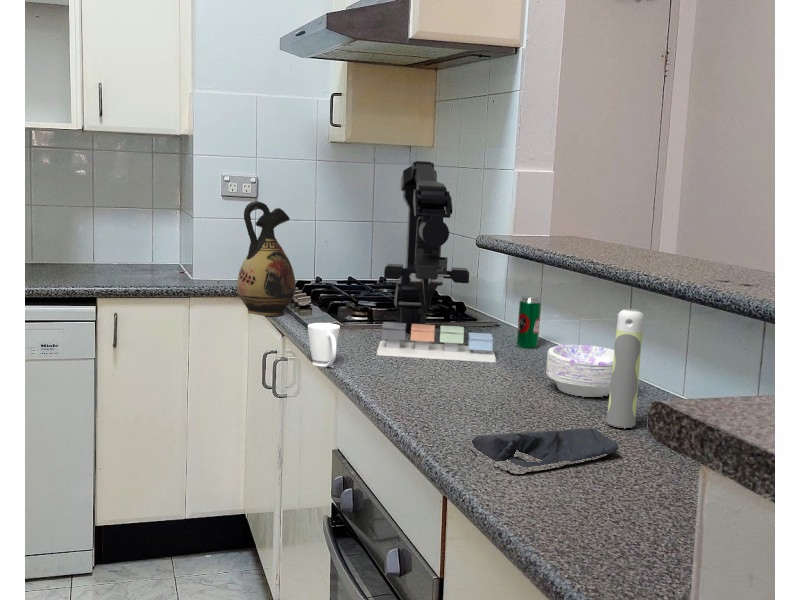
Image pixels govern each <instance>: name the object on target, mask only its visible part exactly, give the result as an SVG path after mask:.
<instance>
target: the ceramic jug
mask: <svg viewBox="0 0 800 600" xmlns="http://www.w3.org/2000/svg"><path fill="white" fill-rule="evenodd" d="M255 210H260V211H262V213H263V214H262V215H261V216H259V217H258V220H257V221H255V222H256V223H255V225H256V226H257V227H259V228H261V231H260V233H259V236H258V237H257V234H256V232H255V230H254V226H253V223H252V219H251V218H252V216H251V214H252V212H253V211H255ZM290 220H291V219H290V217H289V215H288V214H287V213H286V212H285V210H283V209H281V208H280V207H277V208H274V209H273V210H272V211H270V208H269V207H268V205H267V204H265V203H264V202H262V201H258V200H257V201H256V200H254V201H251V202H249V203H248V204H247V205H246V206H245V208H244V211H243V221H244V223H245V227H246V229H247V235H248V236H249V241H250V244H249V248H248V253H247V254H246V257H245V259H244V260H243V262H242V264H241V266H240V269H239V273H238V276H237V281H236V282H237V284H236V287H237V288H236V289H237V293H238V296H239V299H240V300H241V301H242V302H243V304H244V305H245V307H246V308H247V314H250V315H251V314H252V315H257V316H262V317H282V316H283V315H284V314H285V313H284V312H285V311H286V309H287V306H289V304H290V303H291V301H292V300H293V299H294V295H295V294H296V287H297V284H296V277H295V272H294V269H293V266H292V264H291V261H290V259H289V257H288V255H287V254H286V252H285V250H284V249H283V247H282V246H281V244H280V243H279V241H278V239H277V238H276V237H275V236H276V235H275V228H277V226H279V225H282V224H284V223H286V222H289V221H290Z"/></svg>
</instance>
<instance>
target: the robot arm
mask: <svg viewBox="0 0 800 600" xmlns="http://www.w3.org/2000/svg"><path fill="white" fill-rule="evenodd" d="M434 163H435V162H432V161H429V160H427V161H425V160H424V161H422V160H415V161H413V162H412V163H411V165H410V166H409V167H407V168H405V169H404V170H403V171H402V174H401V179H400V191H402V199H403V201H404V203H405V205H406V206H407V209H408V215H407V217H408V218H407V236H406V238H407V239H406V261H405V262H406V263H405V267H404V264H401V263H399V264H397V263H387V264H386V265H385V267H384V275H383V276H384V277H383V279H386V280H398V283H396V287H395V293H394V301H393V302H394V306H395V308H397V317H396V318H397V320H396V321H397V322H396V323H406V334H407V333H408V334H411V327H412V324H425V325H427V324H426V323H427V322H426V321H427V320H426V319H427V314H426V313H427V311H428V309H431V307H432V298H433V296H434V293H436V290H437V288H438V287H439V286H440V287H441V286H443V284H444V282H443V280H444V279H445V280H446V279H448V280H452V281H453V282H454V284H455V283H456V284H469V283H470V271H469V270H468V268H467V267H451V269H450V270H448V257H445V256H442V246H443V245H444V244H446V242H447V241H448V239H449V237H450V229H449V227H448V225H447V224H446V223H445V222H444V218H446V219H449V218H450V219H451V215H453V202H452V201H453V199H452V196H451V194H450V191H448V189H447V186H446V185H445V184H444V183H442V182H439V181H438V173H437V171H436V170H435V164H434Z"/></svg>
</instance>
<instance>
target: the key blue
mask: <svg viewBox="0 0 800 600" xmlns="http://www.w3.org/2000/svg"><path fill="white" fill-rule="evenodd" d="M467 341H468V342H467V346H468V348H469V349H472V350H488V351H492V348H493V345H494V337H493V334H492V333H484V332H483V333H481V332H468V340H467Z"/></svg>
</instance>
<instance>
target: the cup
mask: <svg viewBox="0 0 800 600" xmlns="http://www.w3.org/2000/svg"><path fill="white" fill-rule="evenodd" d="M340 327H341V325H339V324H335V323H329V322H314V323H308V325H307V331H308V341H309V342H308V343H309V350H310V355H311V359H312V365H313V366H316V367H325V368H327V367H328V368H329V367H331V366H333V364H334V362H335V360H336V357H337V344H338V338H339V332H340Z"/></svg>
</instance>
